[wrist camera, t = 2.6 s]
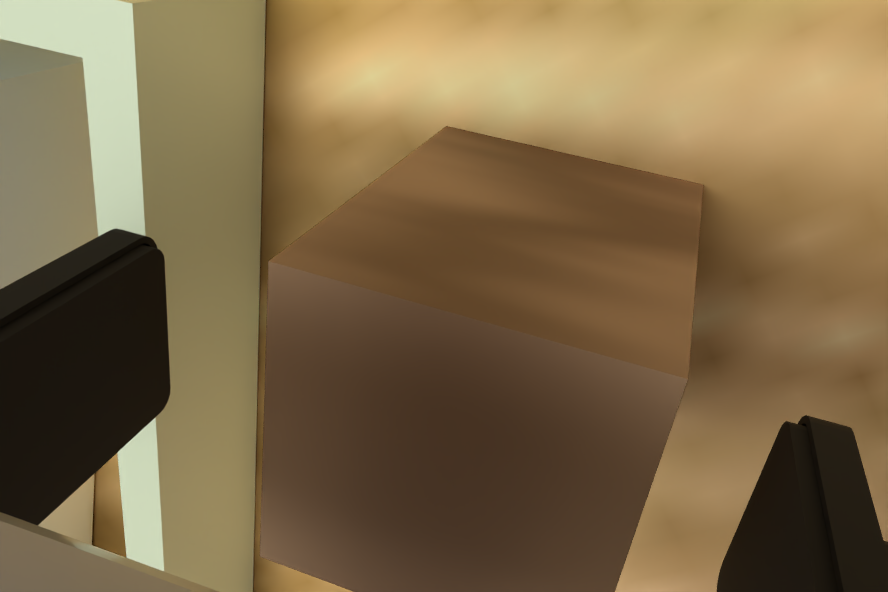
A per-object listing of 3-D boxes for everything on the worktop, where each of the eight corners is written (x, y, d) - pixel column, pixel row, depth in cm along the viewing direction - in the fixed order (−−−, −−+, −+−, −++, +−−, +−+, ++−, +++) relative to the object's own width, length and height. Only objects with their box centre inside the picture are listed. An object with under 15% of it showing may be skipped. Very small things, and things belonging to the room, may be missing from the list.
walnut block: (703, 184, 14) (688, 378, 8) (635, 403, 17) (584, 678, 11) (447, 126, 15) (268, 261, 9) (417, 339, 18) (260, 556, 12)
